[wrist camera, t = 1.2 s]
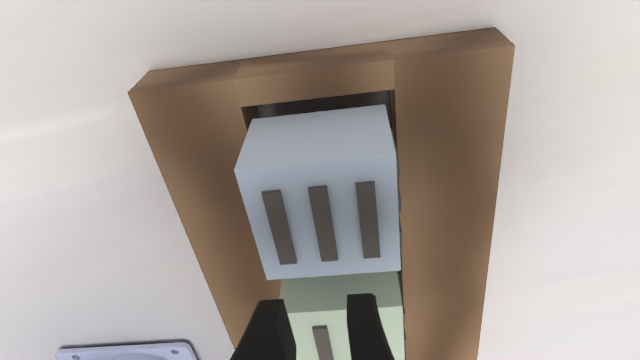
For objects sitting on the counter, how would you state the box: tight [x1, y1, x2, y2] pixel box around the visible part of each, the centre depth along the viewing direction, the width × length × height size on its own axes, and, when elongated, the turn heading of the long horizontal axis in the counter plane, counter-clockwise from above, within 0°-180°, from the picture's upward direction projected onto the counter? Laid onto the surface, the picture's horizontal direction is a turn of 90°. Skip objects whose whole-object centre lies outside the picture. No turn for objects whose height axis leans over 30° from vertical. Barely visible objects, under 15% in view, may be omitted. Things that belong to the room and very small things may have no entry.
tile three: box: [234, 104, 403, 280], centre depth 16 cm, size 5×5×4 cm
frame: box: [128, 28, 515, 360], centre depth 22 cm, size 14×22×2 cm, turn 8°
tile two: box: [279, 271, 407, 360], centre depth 20 cm, size 5×5×4 cm
